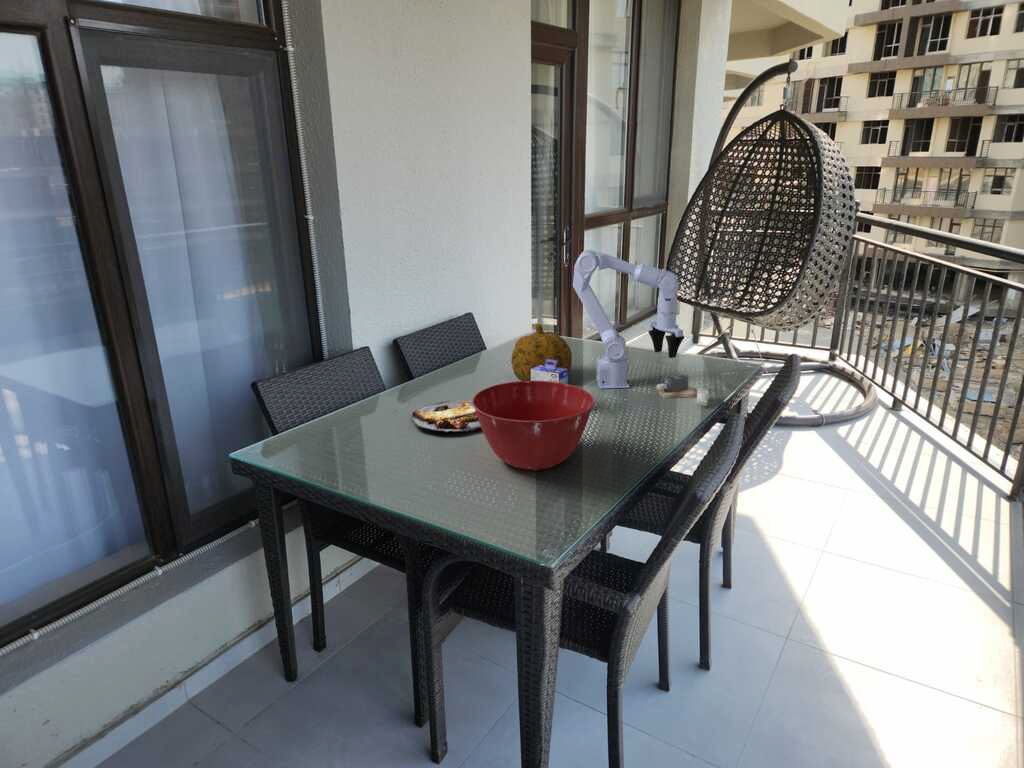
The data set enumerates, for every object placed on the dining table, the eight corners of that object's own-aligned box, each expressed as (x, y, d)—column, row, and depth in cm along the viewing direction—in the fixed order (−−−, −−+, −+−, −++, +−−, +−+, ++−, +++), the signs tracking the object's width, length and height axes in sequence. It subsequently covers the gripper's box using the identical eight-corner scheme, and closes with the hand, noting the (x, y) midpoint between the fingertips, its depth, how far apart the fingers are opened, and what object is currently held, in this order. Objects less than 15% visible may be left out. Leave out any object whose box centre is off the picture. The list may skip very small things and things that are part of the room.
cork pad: (663, 398, 194) (664, 395, 193) (655, 388, 203) (655, 385, 203) (696, 397, 194) (696, 394, 194) (686, 387, 203) (687, 384, 203)
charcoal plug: (683, 386, 201) (684, 374, 200) (690, 389, 198) (690, 376, 197) (655, 391, 197) (656, 378, 196) (661, 394, 195) (662, 381, 193)
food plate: (432, 443, 165) (431, 430, 164) (399, 418, 184) (398, 406, 183) (515, 425, 177) (515, 413, 176) (476, 403, 196) (475, 392, 195)
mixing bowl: (613, 450, 158) (614, 390, 153) (554, 496, 136) (553, 428, 131) (518, 428, 173) (516, 374, 169) (450, 467, 151) (447, 405, 146)
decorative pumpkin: (587, 375, 215) (582, 317, 208) (546, 396, 201) (540, 335, 195) (542, 367, 229) (536, 313, 222) (501, 386, 215) (493, 329, 208)
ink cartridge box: (569, 408, 187) (569, 361, 183) (559, 414, 183) (558, 365, 179) (540, 403, 193) (539, 356, 188) (530, 408, 189) (529, 360, 184)
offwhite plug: (696, 398, 193) (696, 387, 192) (706, 399, 192) (707, 387, 191) (697, 408, 185) (698, 396, 183) (708, 409, 184) (709, 397, 183)
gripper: (692, 314, 193) (690, 358, 197) (664, 306, 206) (662, 348, 210) (672, 317, 190) (670, 361, 194) (645, 309, 203) (643, 350, 207)
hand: (665, 354), depth 202 cm, fingers open, 7 cm apart
